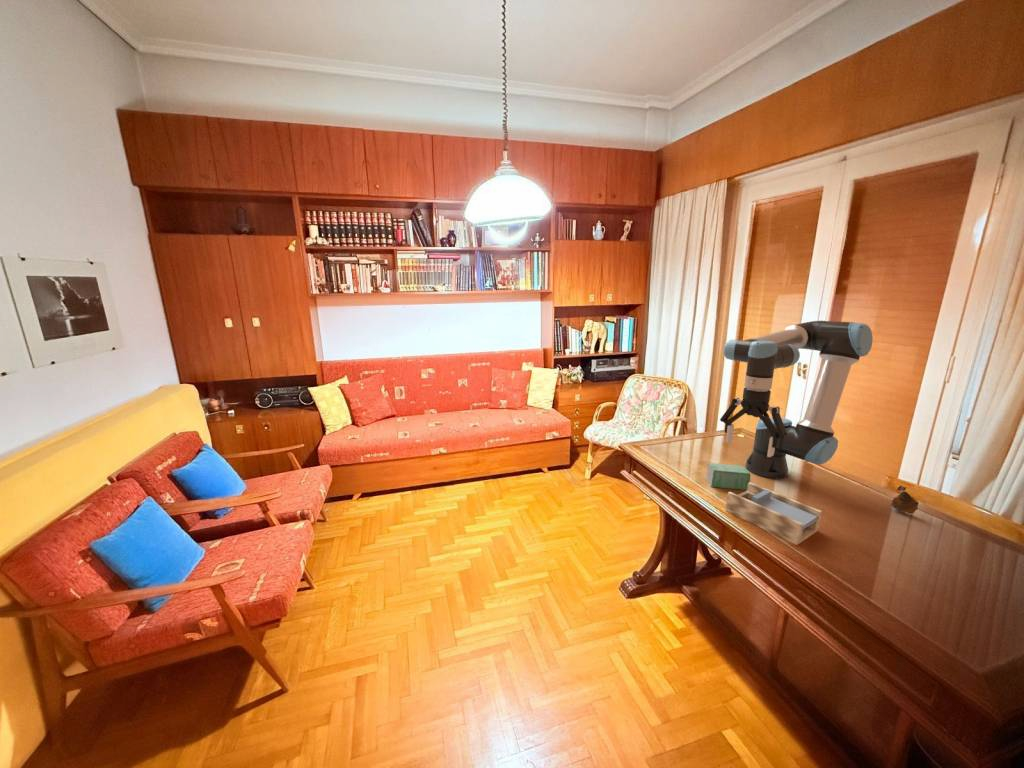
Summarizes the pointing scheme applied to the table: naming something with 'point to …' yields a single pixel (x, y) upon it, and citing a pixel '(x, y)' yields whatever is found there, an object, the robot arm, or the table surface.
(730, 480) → the box
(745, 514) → the case
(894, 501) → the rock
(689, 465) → the table surface
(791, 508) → the cover plate
